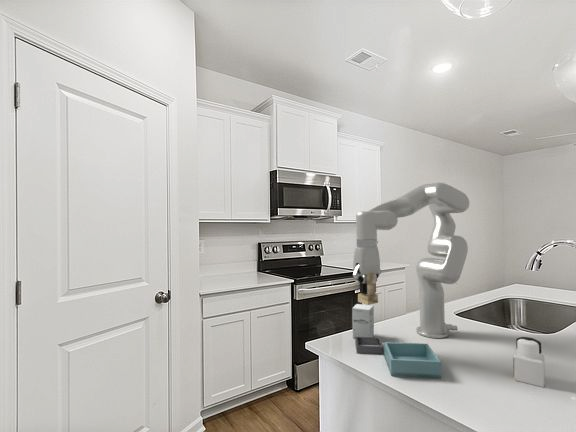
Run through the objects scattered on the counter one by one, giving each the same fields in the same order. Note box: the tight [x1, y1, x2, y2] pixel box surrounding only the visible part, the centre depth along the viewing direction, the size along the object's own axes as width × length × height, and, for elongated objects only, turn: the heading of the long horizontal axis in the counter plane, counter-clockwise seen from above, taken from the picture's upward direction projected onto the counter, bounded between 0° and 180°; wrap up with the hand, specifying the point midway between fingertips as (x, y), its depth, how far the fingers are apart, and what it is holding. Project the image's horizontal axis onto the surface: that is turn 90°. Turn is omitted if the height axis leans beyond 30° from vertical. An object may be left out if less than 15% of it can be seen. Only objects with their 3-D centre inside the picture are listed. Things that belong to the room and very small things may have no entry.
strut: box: [357, 273, 379, 305], centre depth 124 cm, size 5×5×12 cm
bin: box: [383, 341, 442, 379], centre depth 108 cm, size 15×15×5 cm
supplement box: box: [351, 303, 375, 339], centre depth 135 cm, size 7×7×13 cm
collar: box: [354, 336, 384, 355], centre depth 123 cm, size 10×10×2 cm
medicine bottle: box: [512, 336, 546, 388], centre depth 98 cm, size 7×7×12 cm
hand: (367, 292), depth 124 cm, fingers closed on strut, 4 cm apart
